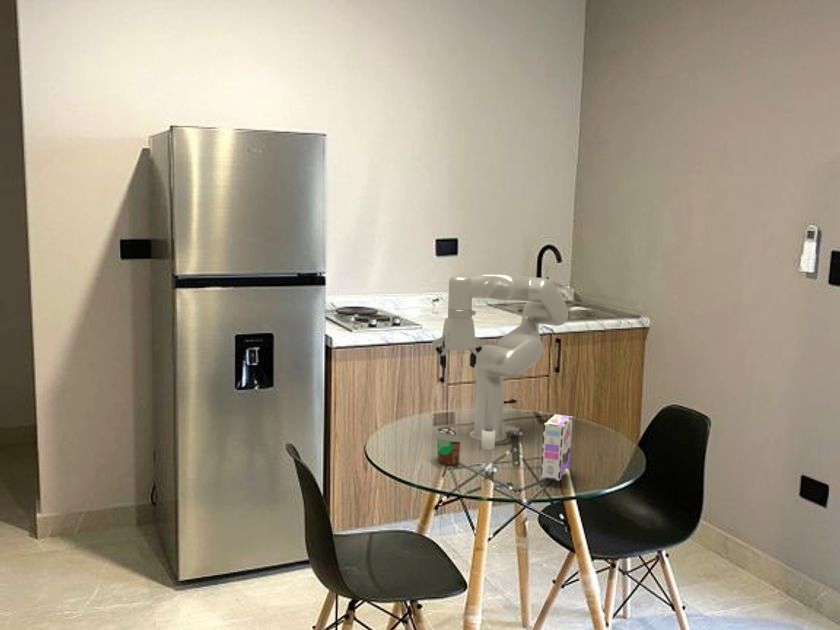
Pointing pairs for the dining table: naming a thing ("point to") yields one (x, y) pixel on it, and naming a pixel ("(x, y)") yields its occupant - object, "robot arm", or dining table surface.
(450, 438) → the food container
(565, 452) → the candy box
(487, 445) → the salt cellar
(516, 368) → the robot arm
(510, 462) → the dining table surface
